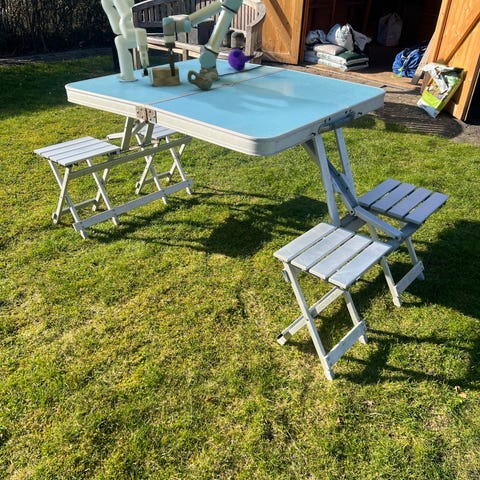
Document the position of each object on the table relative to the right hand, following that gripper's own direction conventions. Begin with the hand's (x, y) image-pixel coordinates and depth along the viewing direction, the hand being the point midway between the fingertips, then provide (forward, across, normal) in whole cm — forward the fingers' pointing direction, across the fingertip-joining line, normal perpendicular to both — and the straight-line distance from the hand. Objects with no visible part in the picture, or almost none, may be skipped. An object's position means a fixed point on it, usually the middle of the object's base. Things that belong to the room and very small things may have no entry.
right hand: (172, 75), depth 325 cm
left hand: (-1, 0, +19) cm, 19 cm away
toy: (+6, +40, -59) cm, 72 cm away
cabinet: (+6, 0, +5) cm, 8 cm away
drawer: (+5, 0, +11) cm, 12 cm away
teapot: (+6, -26, -18) cm, 32 cm away
